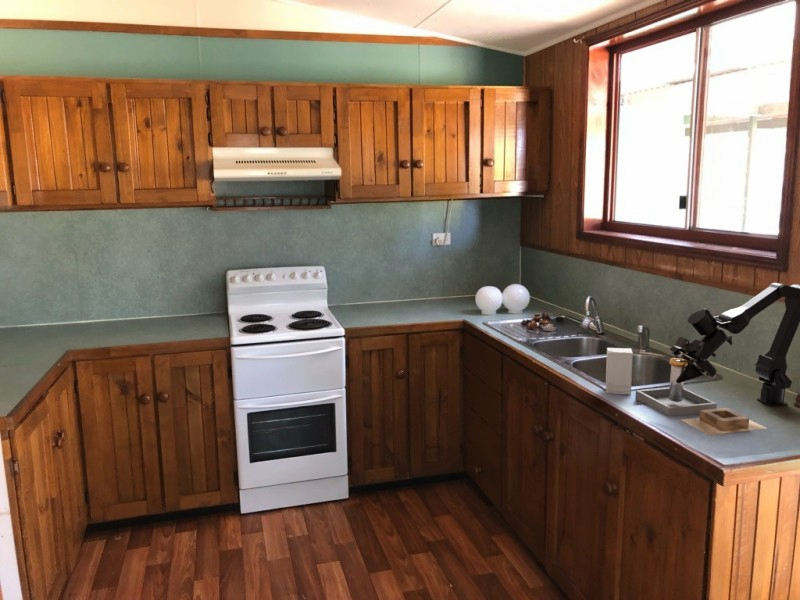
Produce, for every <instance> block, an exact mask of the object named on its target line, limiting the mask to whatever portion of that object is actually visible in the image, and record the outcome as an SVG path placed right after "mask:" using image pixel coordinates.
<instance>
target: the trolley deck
mask: <svg viewBox="0 0 800 600" xmlns="http://www.w3.org/2000/svg"><path fill="white" fill-rule="evenodd" d="M681 421H682V422H684V423H685V424H687V425H689V426H691V427H693V428H695V429H697V430H698V431H700V432H702V433H704V434H706V435H708V436H713V435H723V434H727V433H728V434H730V433H738V432H739V433H741V432H749V431H758V430H765V429H768V428H767V427H765V426H764V425H761V424H759V423H757V422H755V421H753V420H751V419H750V418H749V417H747V416H745V415H743V414H741V413H738V412H736V411H734V410H732V409H730V408H729V407H721V408H719V407H717V408H716V409H708V410H700V413H699V417H696V418H695V417H694V418H683V419H681Z"/></svg>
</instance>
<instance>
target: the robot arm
mask: <svg viewBox="0 0 800 600" xmlns="http://www.w3.org/2000/svg"><path fill="white" fill-rule="evenodd" d="M782 298H784V305H785V306H784V307H785V311H784V313H783V317H782V319H781V320H780V323H779V326H778V329H777V331H776V333H775V336H774V339H773V340H772V343H771V345H770V348H769V350H768V351H767V352H766V353H765V354H759V355H758V359H757V362H755V364H754V366H755V373H756V375H757V377H758V380H759V381H760V382H762V385H761V386H762V387H761V389H760V397H757V398H756V400H757V401H759V402H761V403H764V404H765V405H768V406H770V407H775V406H785V405H788V402H786V401H785V397H786V396H785V394H786V389H790V388H791V386H792V384H793V381H792V380H791V379H790V378H789V376H787V374H786V373H787V370H788V369H787V368H788V364H787V355H788V352H789V350H790V348H791V346H792V342H793V340H794V338H795V335H796V332H797V330H798V328H799V325H800V284H799V283H795V284H792V285H786V284H784V283H779V282H772V283H771V284H769V286H768V287H767V288H765V289H764V290H762V291H761V292H760V293H758V294H757V295H755V296H754V297H752V298H750V299H749V300H748V301H747V302H745V303H744V304H742V305H741V306H739V307H736V308H731V309H728V310H726V311H724V312H722V313H720V314H719V315H716V316H713V314H712V313H711V312H710V311H709V309H707V308H704V307H703V308H702V309H701V310H697V311H695V312H693V313H691V314H690V315H689V316H688V318H687V323H688V324H689V325H690V326H691V327H692V328H693V329H694V331H695V332H696V333H697V334H698V336H703V337H701V338H700V339H696V338H691V339H687V338H686V337H683V336H681V335H678V338H677V340H676V341H675V343H674V345H673V346H671V347H670V348H669V349H668V351H669V352H670V353H671V354H672V355H673V358H681V359H685V360H687V361H688V363H687V366H685V370H684V371H683V372H682V374H681V375H680V376H679V377H678V379H677V380H676V382H677V383H681V382H684V383H685V382H686V381H687V382H688V381H690V380H692V379H696V378H699V377H704V376H705V375H706V376H707V377H708V378H711V379H713V378H715V376H716V375H717V372H718V370H717V368H715V366H714V365H713V364H712V363H711V362H710V361H709V359H710V358H711V357H712V358H715V357H716V356H717V354H716V352H717V351H718V350H719V349H720V348H721V347H722V346H723V345H724V344H727V345H729V346H733V336H732V335H729V334H727V333H730V334H734V335H736V334H740V333H742V331H744V330H745V329H746V328H747V327H748V326H749V325H750V322H751V320H752V319H753V318H754V317H756V316H757V315H758V314H760V313H761V312H763V311H764V310H766V309H767V308H768V307H770V306H772V304H774V303H776V302H777V301H779V300H780V299H782ZM726 332H727V333H726ZM704 373H705V374H704ZM670 377H671V371H670V372H669V375H668V378H669V379H670Z"/></svg>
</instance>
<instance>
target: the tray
mask: <svg viewBox="0 0 800 600" xmlns="http://www.w3.org/2000/svg"><path fill="white" fill-rule="evenodd" d="M669 389H670V386H669V387H658V388H650V389H649V388H648V389H639V390H635V398H634V399H635V400H634V401H635V402H637V403H638V402H639V403H638V404H640V403H641V404H640V405H642V404H643V406H647V405H648V406H649V407H651V408H653V409H655V410H656V411H658V412H660V413H662V414H664V415H665V416H668V417H673V416H674V417H675V416H684V415H693V414H700V410H708V409H717V408H718V403H717V402H716V401H712V400H711V399H708V398H706V397H704V396H702V395H699V394H697V393H695V392H693V391H692V390H689V389H687V388H685V387H683V398H682V401H681V402H674V401H670V400H669Z"/></svg>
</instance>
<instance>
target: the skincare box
mask: <svg viewBox="0 0 800 600" xmlns="http://www.w3.org/2000/svg"><path fill="white" fill-rule="evenodd" d="M633 357H634V353H633V350H632V348H631V347H630V348H628V347H627V348H626V347H625V348H624V347H606V363H605V364H606V367H605V368H606V369H605V391H606V394H616V395H617V394H618V395H631V394H632V378H633V377H632V376H633V359H634V358H633Z"/></svg>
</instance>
